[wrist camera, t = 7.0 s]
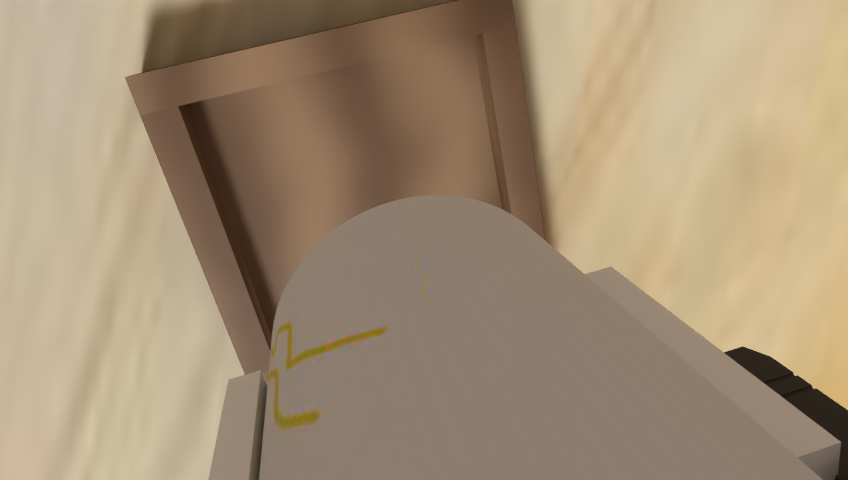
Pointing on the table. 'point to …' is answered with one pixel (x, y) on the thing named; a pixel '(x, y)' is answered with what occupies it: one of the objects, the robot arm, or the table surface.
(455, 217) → the pale grey cylinder
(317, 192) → the tray
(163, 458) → the table surface
